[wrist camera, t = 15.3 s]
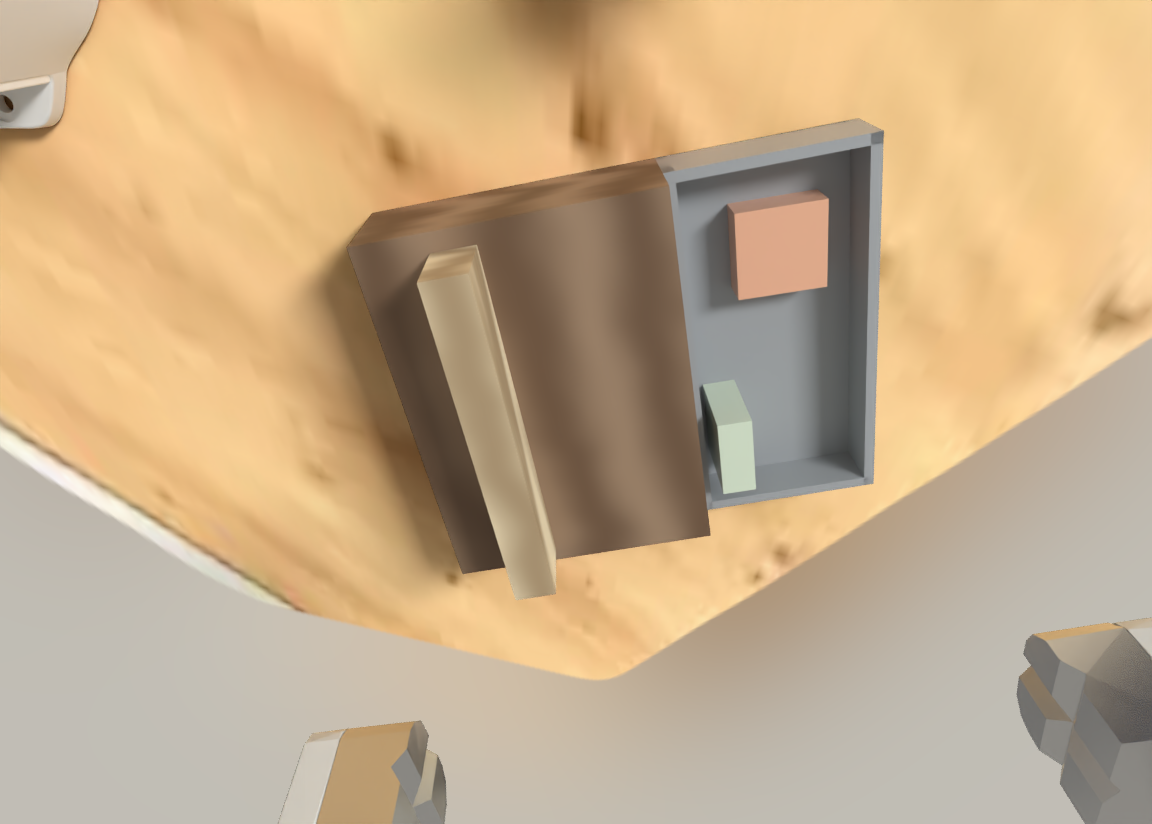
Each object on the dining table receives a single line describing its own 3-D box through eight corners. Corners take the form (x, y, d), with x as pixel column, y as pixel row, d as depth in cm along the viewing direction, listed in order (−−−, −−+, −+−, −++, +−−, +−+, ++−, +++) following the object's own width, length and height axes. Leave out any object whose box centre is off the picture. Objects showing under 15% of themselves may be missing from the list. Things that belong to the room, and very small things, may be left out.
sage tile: (723, 494, 45) (756, 489, 45) (717, 426, 43) (752, 420, 43) (709, 448, 50) (738, 444, 49) (702, 384, 47) (734, 379, 47)
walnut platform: (471, 514, 53) (462, 574, 48) (372, 213, 41) (346, 247, 36) (695, 478, 51) (710, 535, 46) (654, 158, 40) (669, 185, 35)
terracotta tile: (827, 286, 42) (816, 274, 43) (828, 198, 39) (817, 189, 41) (738, 300, 42) (731, 287, 44) (734, 213, 39) (727, 203, 41)
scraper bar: (518, 553, 47) (515, 600, 43) (429, 253, 37) (416, 282, 33) (555, 548, 47) (555, 594, 43) (477, 244, 36) (468, 273, 33)
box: (695, 478, 51) (703, 510, 48) (654, 158, 40) (662, 173, 37) (854, 453, 51) (873, 483, 48) (858, 118, 39) (883, 130, 36)
